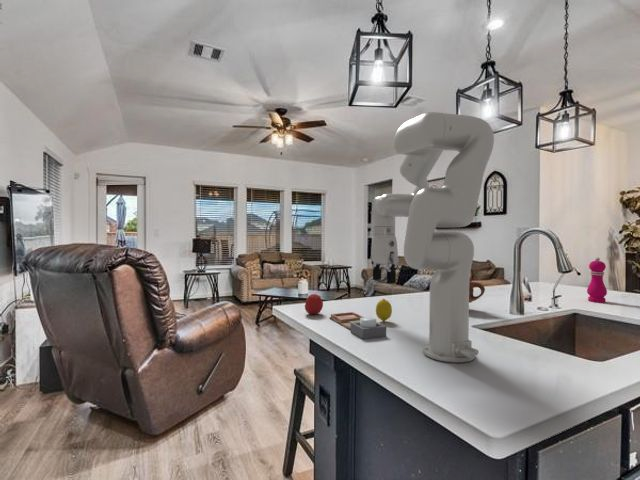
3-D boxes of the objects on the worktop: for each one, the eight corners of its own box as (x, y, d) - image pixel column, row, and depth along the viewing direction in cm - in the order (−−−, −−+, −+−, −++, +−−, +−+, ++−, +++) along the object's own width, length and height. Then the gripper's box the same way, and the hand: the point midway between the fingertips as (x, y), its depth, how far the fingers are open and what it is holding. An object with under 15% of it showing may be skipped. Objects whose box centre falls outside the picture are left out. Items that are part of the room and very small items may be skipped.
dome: (379, 333, 111) (379, 320, 111) (364, 335, 109) (364, 321, 109) (371, 329, 116) (371, 316, 115) (357, 331, 114) (357, 318, 114)
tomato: (325, 292, 139) (306, 287, 141) (318, 307, 133) (298, 302, 135) (325, 305, 144) (307, 300, 146) (319, 321, 138) (300, 315, 141)
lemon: (391, 323, 125) (391, 300, 125) (375, 323, 126) (375, 300, 126) (391, 320, 130) (391, 297, 130) (376, 319, 132) (376, 297, 131)
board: (380, 328, 119) (380, 323, 119) (353, 331, 115) (353, 326, 115) (354, 316, 136) (354, 311, 136) (329, 318, 132) (329, 314, 132)
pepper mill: (582, 300, 167) (583, 256, 167) (594, 299, 170) (595, 256, 169) (599, 303, 160) (599, 258, 160) (610, 302, 163) (611, 257, 162)
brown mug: (488, 310, 147) (489, 275, 147) (481, 315, 137) (481, 278, 137) (439, 304, 159) (439, 272, 159) (429, 308, 149) (429, 274, 149)
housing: (386, 336, 110) (386, 326, 110) (362, 339, 107) (362, 329, 107) (372, 329, 117) (372, 320, 117) (350, 332, 114) (350, 322, 114)
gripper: (407, 232, 121) (407, 284, 121) (380, 232, 137) (380, 278, 137) (388, 232, 118) (388, 285, 118) (362, 232, 134) (362, 279, 135)
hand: (383, 281), depth 128 cm, fingers open, 8 cm apart
